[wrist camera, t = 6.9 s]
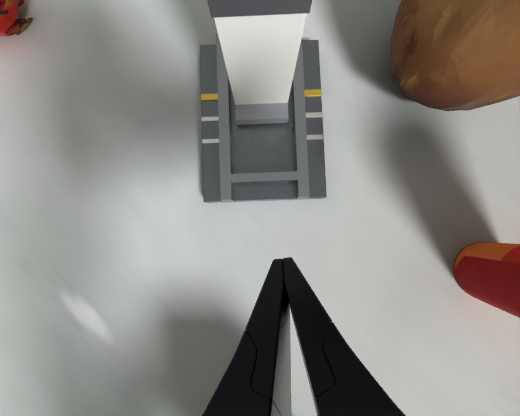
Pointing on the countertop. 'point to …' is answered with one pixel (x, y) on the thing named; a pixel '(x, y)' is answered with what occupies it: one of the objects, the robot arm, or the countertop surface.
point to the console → (262, 137)
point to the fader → (260, 54)
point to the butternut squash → (457, 52)
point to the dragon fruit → (11, 18)
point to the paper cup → (491, 274)
